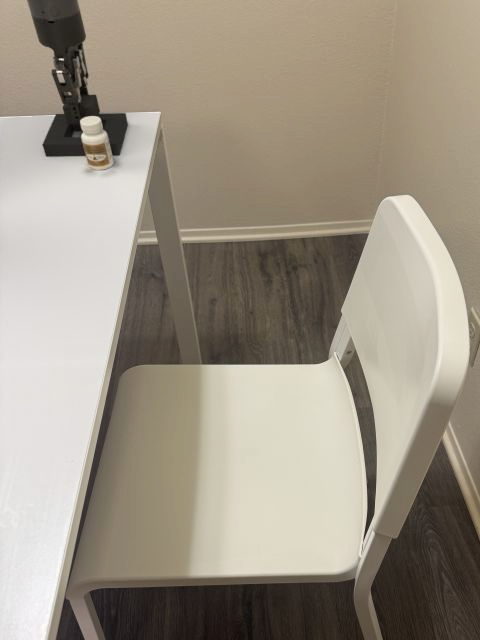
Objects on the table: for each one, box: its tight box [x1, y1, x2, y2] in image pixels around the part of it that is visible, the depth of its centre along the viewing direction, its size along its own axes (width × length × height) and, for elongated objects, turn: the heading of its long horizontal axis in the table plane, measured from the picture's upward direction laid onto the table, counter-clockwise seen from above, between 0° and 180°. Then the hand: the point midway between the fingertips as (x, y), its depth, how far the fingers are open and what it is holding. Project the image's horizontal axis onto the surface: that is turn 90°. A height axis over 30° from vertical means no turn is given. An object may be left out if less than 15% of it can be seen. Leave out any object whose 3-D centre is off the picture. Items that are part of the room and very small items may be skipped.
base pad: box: [41, 112, 129, 157], centre depth 112 cm, size 13×12×2 cm
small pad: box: [62, 94, 101, 124], centre depth 108 cm, size 5×5×3 cm
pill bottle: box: [80, 116, 115, 171], centre depth 104 cm, size 4×4×8 cm
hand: (82, 115), depth 109 cm, fingers closed on small pad, 5 cm apart
